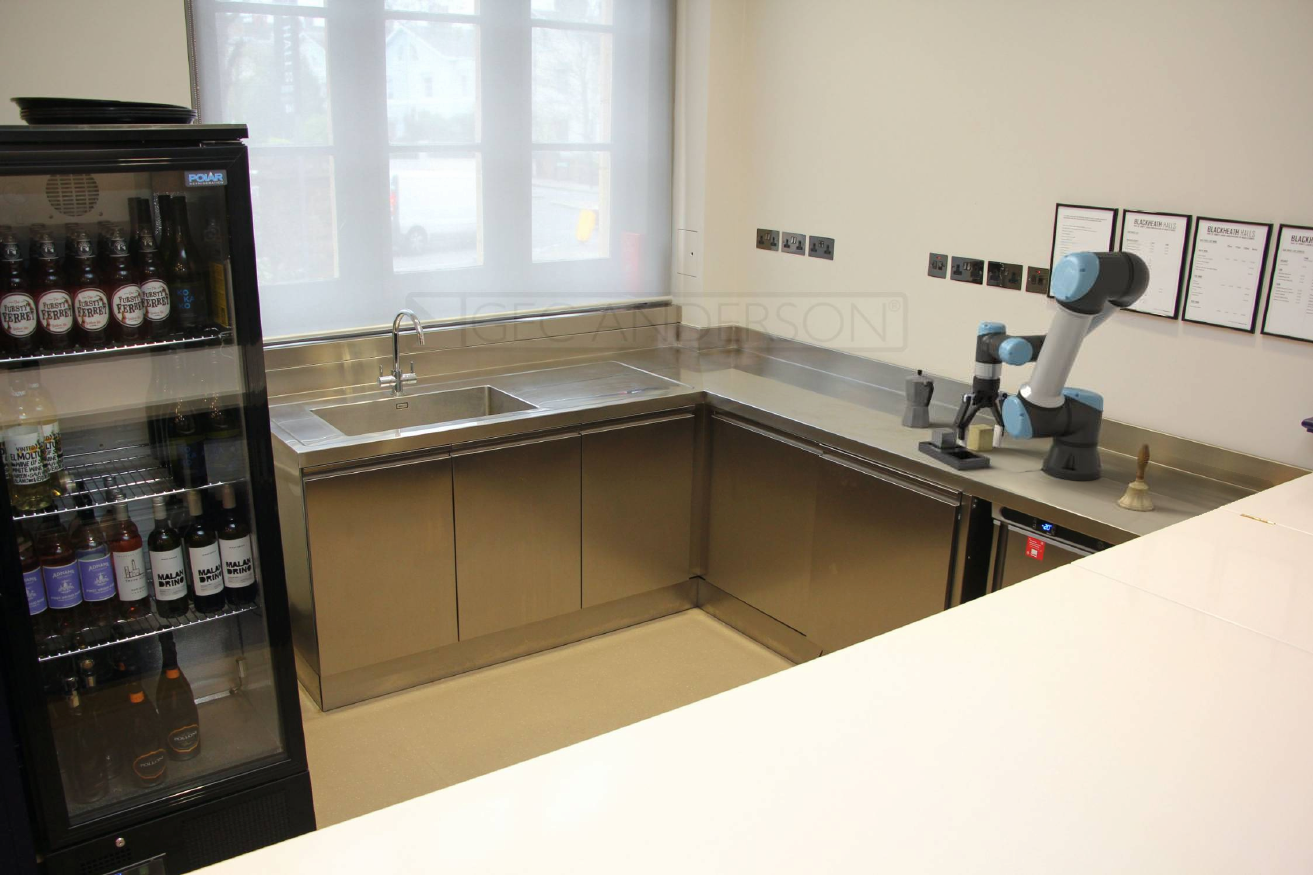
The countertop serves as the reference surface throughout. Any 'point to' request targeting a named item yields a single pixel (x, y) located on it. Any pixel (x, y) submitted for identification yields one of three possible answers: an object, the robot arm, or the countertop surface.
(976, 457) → the dark grey tray
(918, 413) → the coffeepot
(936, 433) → the grey block
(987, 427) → the yellow block
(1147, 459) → the hand bell
